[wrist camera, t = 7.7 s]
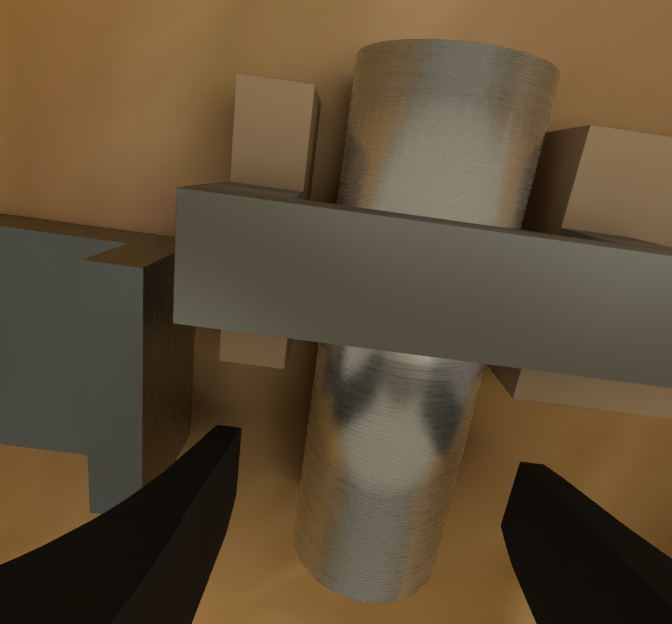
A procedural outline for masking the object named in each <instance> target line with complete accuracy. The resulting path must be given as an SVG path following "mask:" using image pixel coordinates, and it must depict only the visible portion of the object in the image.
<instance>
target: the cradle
mask: <svg viewBox="0 0 672 624" xmlns="http://www.w3.org/2000/svg"><path fill="white" fill-rule="evenodd" d="M174 272H175V237H167V236H160V235H153V234H145V233H138V232H130V231H123V230H116V229H108V228H101V227H94V226H86V225H79V224H71V223H64V222H57V221H49V220H42V219H35V218H27V217H20V216H13V215H5V214H0V444H5V445H13V446H21V447H29V448H38V449H46V450H54V451H62V452H71V453H79V454H87V455H88V469H89V496H90V512H92V513H100V514H103V513H105V512H106V511H108V510H110V509H111V508H113V507H114V506H116V505H118V504H119V503H121V502H122V501H124V500H125V499H127V498H128V497H130V496H131V495H132V494H134V493H135V492H137V491H138V490H139V489H141V488H142V487H143V486H145V485H146V484H147V483H149V482H150V481H151V480H153V479H154V478H155V477H157V476H158V475H159V474H161V473H162V472H163V471H165V470H166V469H167V468H168V467H169V466H171V465H172V464H173V463H174V462H175V460H176V458H177V456H178V455H179V453H180V451H181V449H182V448H183V446H184V444H185V442H186V441H187V439H188V437H189V435H190V424H191V400H192V376H193V352H194V329H195V326H190V325H183V324H175V323H173V310H174Z"/></svg>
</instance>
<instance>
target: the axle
mask: <svg viewBox="0 0 672 624" xmlns="http://www.w3.org/2000/svg"><path fill="white" fill-rule="evenodd" d="M559 78H560V71H559V70H558V68H557V67H556V66H554V65H553V64H552V63H550V62H548V61H546V60H544V59H542V58H539V57H537V56H534V55H531V54H528V53H525V52H521V51H518V50H514V49H510V48H505V47H500V46H495V45H489V44H483V43H475V42H467V41H457V40H442V39H403V40H392V41H385V42H379V43H375V44H371V45H368V46H366V47H364V48H362V49H360V50H359V51H358V52H357V56H356V63H355V71H354V78H353V86H352V94H351V101H350V109H349V116H348V124H347V132H346V139H345V147H344V154H343V162H342V170H341V177H340V185H339V192H338V200H337V204H338V205H345V206H353V207H360V208H367V209H374V210H381V211H389V212H396V213H403V214H410V215H417V216H425V217H432V218H439V219H446V220H453V221H460V222H468V223H475V224H482V225H489V226H496V227H504V228H511V229H518V230H521V226H522V222H523V218H524V214H525V210H526V206H527V202H528V198H529V195H530V191H531V187H532V183H533V179H534V175H535V171H536V167H537V163H538V159H539V156H540V152H541V148H542V144H543V140H544V136H545V132H546V128H547V124H548V121H549V117H550V113H551V109H552V105H553V101H554V97H555V93H556V89H557V85H558V82H559ZM485 366H486V364H482V363H474V362H466V361H459V360H451V359H443V358H436V357H428V356H420V355H413V354H405V353H397V352H390V351H382V350H374V349H367V348H359V347H351V346H344V345H336V344H328V343H321V342H319V345H318V352H317V360H316V367H315V375H314V383H313V390H312V398H311V405H310V413H309V421H308V428H307V436H306V443H305V451H304V459H303V466H302V474H301V481H300V489H299V497H298V504H297V512H296V519H295V527H294V543H295V547H296V551H297V553H298V556H299V558H300V560H301V561H302V563H303V565H304V566H305V568H306V569H307V570H308V571H309V573H310V574H311V575H312V576H313V577H314V578H315V579H316V580H317V581H319V582H320V583H321V584H323V585H324V586H325V587H327V588H329V589H330V590H332V591H334V592H335V593H338V594H340V595H342V596H344V597H347V598H350V599H354V600H358V601H363V602H370V603H387V602H393V601H398V600H401V599H404V598H406V597H408V596H410V595H412V594H414V593H415V592H417V591H418V590H420V589H421V588H422V587H423V586H424V585H425V584H426V582H427V581H428V579H429V578H430V576H431V574H432V571H433V569H434V565H435V561H436V557H437V553H438V549H439V545H440V541H441V537H442V533H443V530H444V526H445V522H446V518H447V514H448V510H449V506H450V502H451V498H452V495H453V491H454V487H455V483H456V479H457V475H458V471H459V467H460V463H461V459H462V456H463V452H464V448H465V444H466V440H467V436H468V432H469V428H470V424H471V420H472V417H473V413H474V409H475V405H476V401H477V397H478V393H479V389H480V385H481V382H482V378H483V374H484V370H485Z"/></svg>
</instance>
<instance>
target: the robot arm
mask: <svg viewBox="0 0 672 624" xmlns="http://www.w3.org/2000/svg"><path fill="white" fill-rule="evenodd" d="M241 429H242V428H238V427H230V426H222V425H217V426H216V427H214V428H213V429H212V430H211V431H209V432H208V433H207V434H206V435H205V436H204V437H203V438H202V439H201V440H200V441H199V442H197V443H196V444H195V445H194V446H193V447H192V448H191V449H190V450H188V451H187V452H186V453H185V454H184V455H183V456H181V457H180V458H179V459H178V460H177V461H175V462H174V463H173V464H172V465H171V466H169V467H168V468H167V469H166V470H165V471H163V472H162V473H161V474H159V475H158V476H157V477H155V478H154V479H153V480H151V481H150V482H149V483H147V484H146V485H145V486H143V487H142V488H141V489H139V490H138V491H137V492H135V493H134V494H132V495H131V496H130V497H128V498H127V499H125V500H124V501H122V502H121V503H119V504H118V505H116V506H114V507H113V508H111V509H110V510H108V511H106V512H105V513H103V514H101V515H100V516H98V517H96V518H95V519H93V520H91V521H89V522H88V523H86V524H84V525H82V526H80V527H78V528H76V529H74V530H72V531H70V532H69V533H67V534H65V535H63V536H61V537H59V538H57V539H55V540H53V541H52V542H50V543H48V544H46V545H44V546H41V547H39V548H37V549H35V550H33V551H31V552H28V553H26V554H24V555H22V556H20V557H18V558H15V559H13V560H11V561H8V562H6V563H4V564H1V565H0V624H192V621H193V619H194V616H195V613H196V611H197V608H198V606H199V603H200V600H201V598H202V595H203V593H204V590H205V587H206V585H207V582H208V580H209V577H210V574H211V572H212V569H213V567H214V564H215V561H216V559H217V556H218V554H219V551H220V548H221V546H222V543H223V540H224V538H225V535H226V532H227V528H228V525H229V521H230V517H231V513H232V509H233V505H234V501H235V497H236V491H237V478H238V466H239V454H240V441H241ZM501 528H502V532H503V536H504V540H505V543H506V547H507V551H508V554H509V557H510V560H511V564H512V567H513V569H514V572H515V574H516V576H517V579H518V581H519V584H520V586H521V588H522V591H523V593H524V595H525V598H526V600H527V603H528V605H529V607H530V609H531V612H532V614H533V616H534V619H535V621H536V623H537V624H672V559H671V558H670V557H668V556H667V555H665V554H664V553H663V552H661V551H660V550H658V549H657V548H656V547H654V546H653V545H651V544H650V543H648V542H647V541H646V540H644V539H643V538H641V537H640V536H639V535H637V534H636V533H634V532H633V531H632V530H630V529H629V528H628V527H626V526H625V525H624V524H622V523H621V522H620V521H618V520H617V519H616V518H614V517H613V516H612V515H610V514H609V513H608V512H606V511H605V510H604V509H603V508H601V507H600V506H599V505H597V504H596V503H595V502H594V501H592V500H591V499H590V498H588V497H587V496H586V495H584V494H583V493H582V492H581V491H579V490H578V489H577V488H575V487H574V486H573V485H572V484H570V483H569V482H568V481H566V480H565V479H564V478H562V477H561V476H560V475H558V474H557V473H555V472H554V471H553V470H551V469H550V468H548V467H546V466H545V465H543V464H535V463H527V462H520V464H519V467H518V470H517V474H516V477H515V480H514V484H513V487H512V490H511V493H510V497H509V500H508V503H507V507H506V510H505V513H504V517H503V520H502V523H501Z"/></svg>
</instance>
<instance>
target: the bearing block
mask: <svg viewBox="0 0 672 624" xmlns="http://www.w3.org/2000/svg"><path fill="white" fill-rule="evenodd" d="M320 105H321V102H320V99H319V96H318V93H317V90H316V87H315V85H314V84H307V83H301V82H294V81H287V80H280V79H273V78H266V77H260V76H253V75H246V74H239V73H237V75H236V91H235V107H234V124H233V140H232V157H231V173H230V182H222V183H213V184H204V185H195V186H186V187H177V198H176V235H175V272H174V310H173V323H175V324H183V325H190V326H198V327H206V328H213V329H221V337H220V353H219V361H224V362H232V363H240V364H247V365H255V366H263V367H271V368H279V369H284V367H285V363H286V360H287V357H288V353H289V350H290V346H291V343H292V339H298V340H305V341H313V342H321V343H328V344H336V345H344V346H351V347H359V348H367V349H374V350H382V351H390V352H397V353H405V354H413V355H420V356H428V357H436V358H443V359H451V360H459V361H466V362H474V363H482V364H488V366H489V367H490V368H491V370H492V371H493V372H494V374H495V375H496V377H497V378H498V379H499V381H500V382H501V383H502V385H503V386H504V387H505V389H506V390H507V391H508V393H509V394H510V395H511V397H512V398H513V399H520V400H528V401H536V402H543V403H551V404H559V405H567V406H575V407H582V408H590V409H598V410H606V411H613V412H621V413H629V414H637V415H645V416H652V417H660V418H668V419H672V137H669V136H663V135H656V134H649V133H642V132H635V131H628V130H622V129H615V128H608V127H601V126H594V125H587V126H582V127H576V128H571V129H565V130H559V131H554V132H548V133H545V136H544V140H543V144H542V148H541V152H540V156H539V159H538V163H537V167H536V171H535V175H534V179H533V183H532V187H531V191H530V195H529V198H528V202H527V206H526V210H525V214H524V218H523V222H522V226H521V230H518V229H511V228H504V227H496V226H489V225H482V224H475V223H468V222H460V221H453V220H446V219H439V218H432V217H425V216H417V215H410V214H403V213H396V212H389V211H381V210H374V209H367V208H360V207H353V206H345V205H338V204H331V203H324V202H317V201H310V193H311V184H312V176H313V167H314V158H315V149H316V140H317V132H318V123H319V114H320Z"/></svg>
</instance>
